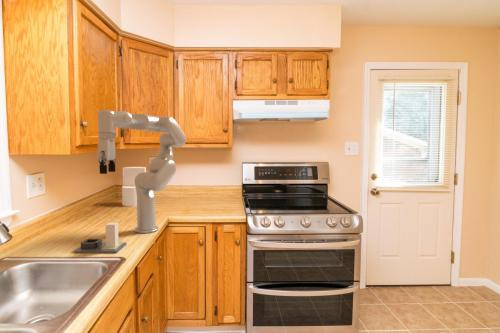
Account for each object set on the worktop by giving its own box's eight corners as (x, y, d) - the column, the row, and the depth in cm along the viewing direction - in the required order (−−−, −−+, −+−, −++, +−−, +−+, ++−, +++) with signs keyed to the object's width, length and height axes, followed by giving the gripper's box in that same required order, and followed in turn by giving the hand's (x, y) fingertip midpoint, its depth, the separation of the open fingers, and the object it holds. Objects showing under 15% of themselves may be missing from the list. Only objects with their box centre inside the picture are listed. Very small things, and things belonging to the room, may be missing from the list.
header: (87, 244, 155) (87, 237, 154) (126, 244, 155) (126, 237, 155) (74, 253, 143) (74, 245, 142) (116, 253, 143) (116, 245, 143)
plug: (109, 244, 151) (109, 222, 150) (118, 244, 151) (118, 222, 150) (106, 246, 147) (105, 224, 146) (115, 246, 147) (114, 224, 146)
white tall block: (127, 201, 262) (127, 166, 260) (149, 202, 261) (148, 167, 259) (118, 206, 245) (117, 168, 243) (141, 206, 244) (140, 168, 242)
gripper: (106, 136, 164) (107, 171, 166) (90, 136, 147) (91, 174, 149) (121, 136, 165) (122, 171, 166) (107, 136, 147) (108, 174, 149)
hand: (107, 172), depth 157 cm, fingers open, 9 cm apart
